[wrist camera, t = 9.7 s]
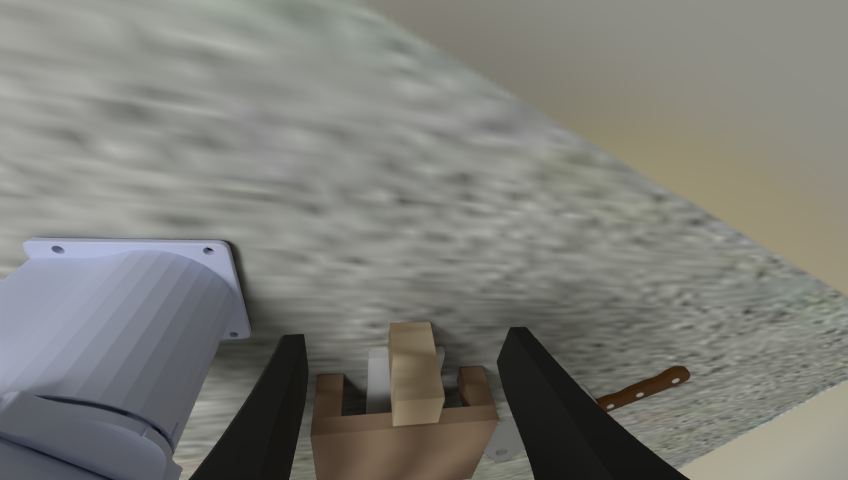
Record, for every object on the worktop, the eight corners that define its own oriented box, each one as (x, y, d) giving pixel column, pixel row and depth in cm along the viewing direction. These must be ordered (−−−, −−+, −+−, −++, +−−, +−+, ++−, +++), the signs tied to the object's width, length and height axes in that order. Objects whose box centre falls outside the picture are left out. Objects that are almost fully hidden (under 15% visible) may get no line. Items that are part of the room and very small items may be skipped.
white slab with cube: (365, 433, 34) (365, 505, 29) (369, 323, 25) (371, 403, 20) (423, 428, 35) (432, 497, 30) (449, 321, 26) (468, 396, 21)
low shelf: (324, 440, 34) (319, 496, 30) (317, 375, 27) (310, 435, 24) (460, 428, 36) (471, 478, 32) (482, 366, 30) (499, 419, 26)
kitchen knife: (681, 339, 31) (694, 388, 36) (673, 330, 32) (687, 380, 37) (454, 434, 37) (493, 465, 42) (452, 425, 38) (491, 456, 43)
